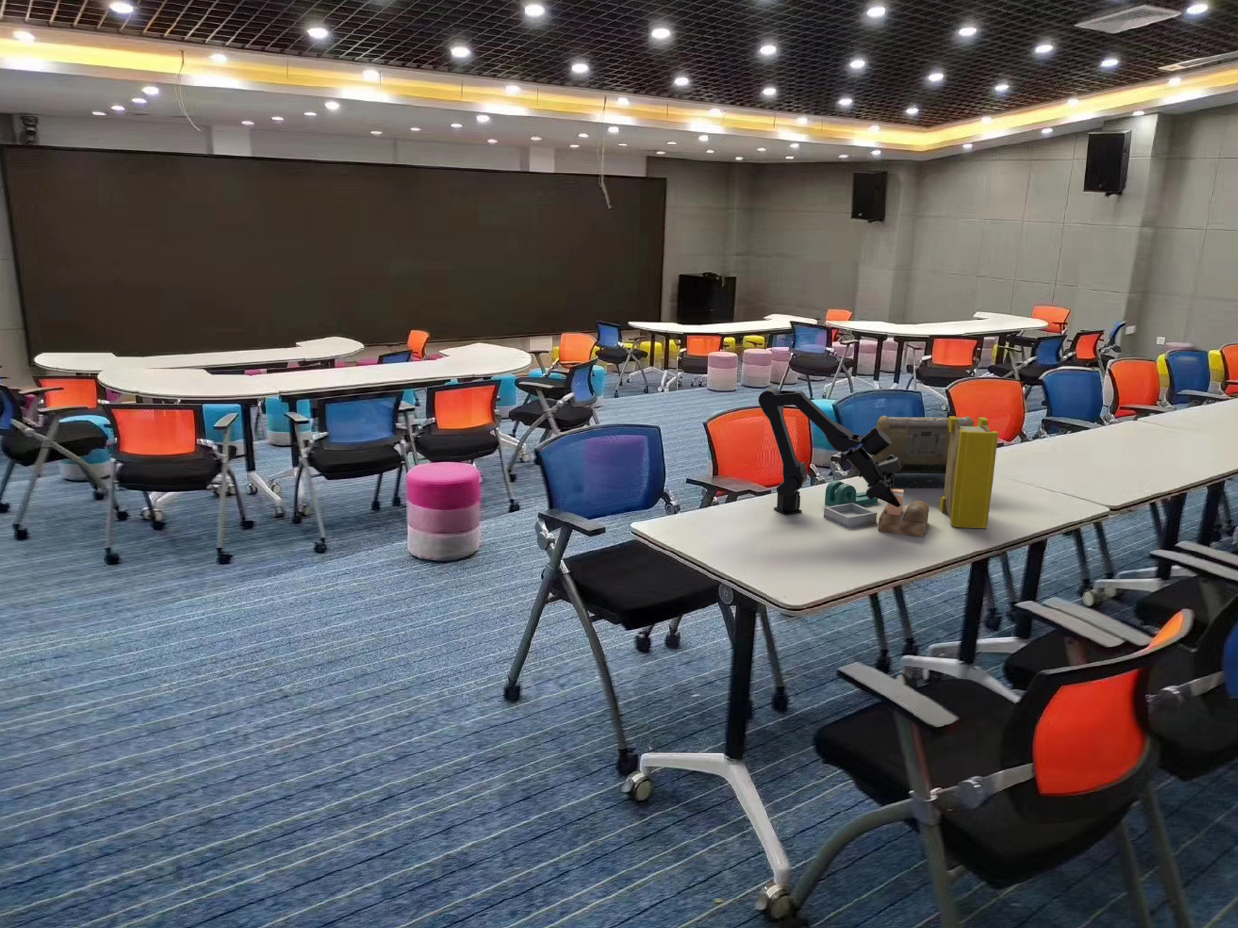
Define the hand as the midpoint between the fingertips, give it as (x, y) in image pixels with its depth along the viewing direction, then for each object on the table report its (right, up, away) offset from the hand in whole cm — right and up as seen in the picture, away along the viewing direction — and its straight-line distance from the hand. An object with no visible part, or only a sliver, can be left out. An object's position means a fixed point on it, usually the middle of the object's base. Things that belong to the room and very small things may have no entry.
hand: (899, 504), depth 250 cm
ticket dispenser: (+1, -6, +1) cm, 7 cm away
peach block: (-1, -6, +2) cm, 7 cm away
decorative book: (+22, -5, +9) cm, 24 cm away
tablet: (+21, +5, +45) cm, 50 cm away
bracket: (-7, -1, +23) cm, 24 cm away
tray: (-13, -5, +8) cm, 16 cm away
